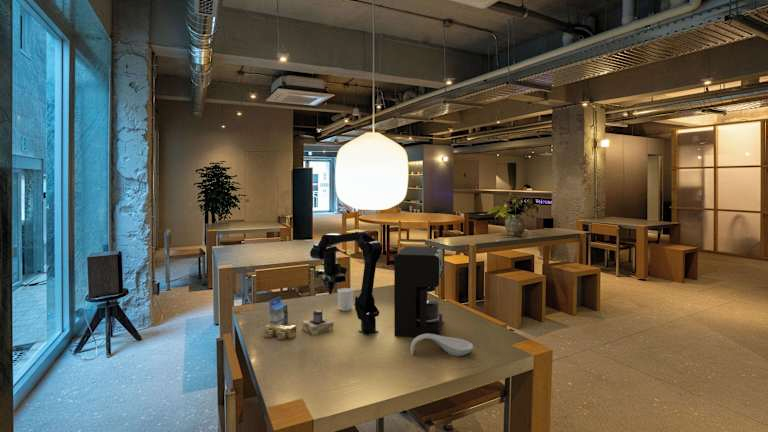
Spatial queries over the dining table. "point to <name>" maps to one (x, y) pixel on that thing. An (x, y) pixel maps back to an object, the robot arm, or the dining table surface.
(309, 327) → the dock block
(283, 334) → the pin guide
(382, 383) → the dining table surface
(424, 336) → the spoon rest
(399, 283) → the coffee maker
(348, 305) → the white cup
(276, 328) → the tan rectangular block
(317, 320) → the black cylinder
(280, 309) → the label tape box
